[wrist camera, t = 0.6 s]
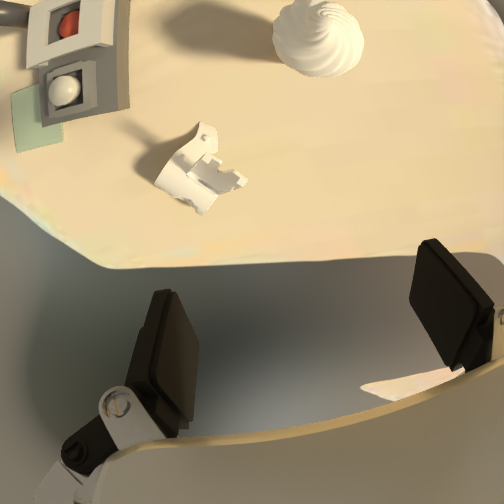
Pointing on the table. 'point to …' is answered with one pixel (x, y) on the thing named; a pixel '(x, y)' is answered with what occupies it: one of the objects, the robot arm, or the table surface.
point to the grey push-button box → (81, 56)
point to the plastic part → (198, 172)
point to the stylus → (14, 14)
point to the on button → (64, 90)
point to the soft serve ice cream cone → (317, 38)
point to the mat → (32, 121)
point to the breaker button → (69, 24)
